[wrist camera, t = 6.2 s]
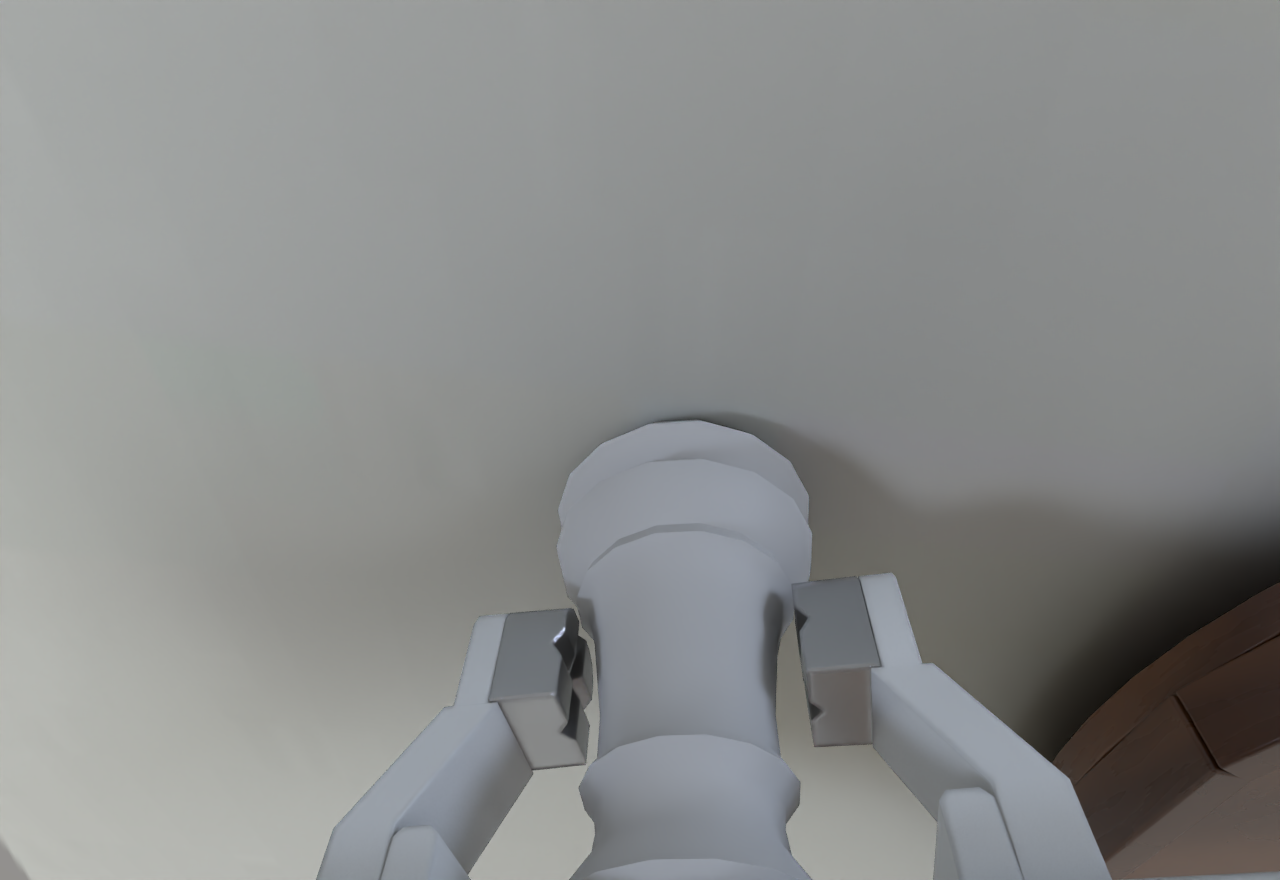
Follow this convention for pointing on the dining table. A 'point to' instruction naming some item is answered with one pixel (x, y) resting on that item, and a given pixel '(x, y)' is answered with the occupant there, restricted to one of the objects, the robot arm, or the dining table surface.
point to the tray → (1189, 755)
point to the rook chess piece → (686, 648)
